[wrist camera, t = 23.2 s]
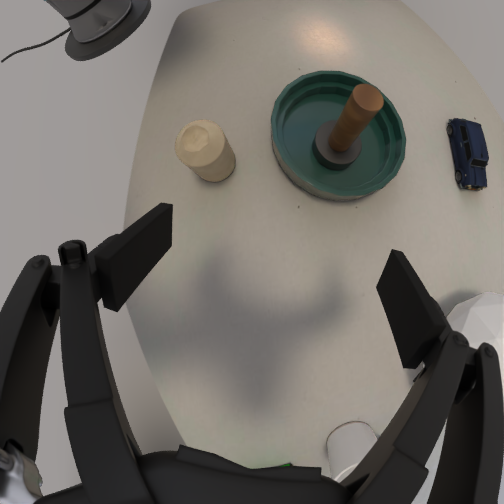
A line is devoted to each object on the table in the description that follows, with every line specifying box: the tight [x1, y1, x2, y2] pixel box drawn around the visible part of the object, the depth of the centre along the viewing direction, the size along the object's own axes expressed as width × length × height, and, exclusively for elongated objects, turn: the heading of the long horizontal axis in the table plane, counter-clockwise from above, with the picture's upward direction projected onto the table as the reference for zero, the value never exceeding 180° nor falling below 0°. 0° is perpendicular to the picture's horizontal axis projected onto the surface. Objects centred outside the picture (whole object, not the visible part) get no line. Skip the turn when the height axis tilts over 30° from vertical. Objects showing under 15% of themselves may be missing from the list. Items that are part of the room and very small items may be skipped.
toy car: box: [447, 118, 489, 190], centre depth 29 cm, size 6×12×6 cm, turn 3°
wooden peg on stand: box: [312, 84, 384, 170], centre depth 26 cm, size 6×6×15 cm
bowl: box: [271, 71, 406, 201], centre depth 32 cm, size 17×17×5 cm
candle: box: [175, 120, 235, 182], centre depth 31 cm, size 6×6×10 cm
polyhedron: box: [423, 291, 504, 421], centre depth 25 cm, size 19×20×20 cm
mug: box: [327, 422, 378, 483], centre depth 31 cm, size 11×9×10 cm
